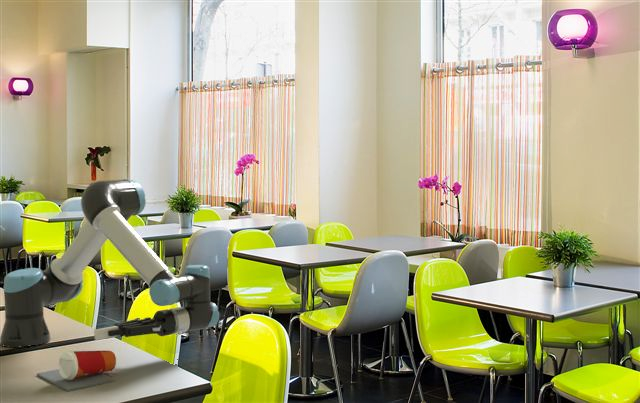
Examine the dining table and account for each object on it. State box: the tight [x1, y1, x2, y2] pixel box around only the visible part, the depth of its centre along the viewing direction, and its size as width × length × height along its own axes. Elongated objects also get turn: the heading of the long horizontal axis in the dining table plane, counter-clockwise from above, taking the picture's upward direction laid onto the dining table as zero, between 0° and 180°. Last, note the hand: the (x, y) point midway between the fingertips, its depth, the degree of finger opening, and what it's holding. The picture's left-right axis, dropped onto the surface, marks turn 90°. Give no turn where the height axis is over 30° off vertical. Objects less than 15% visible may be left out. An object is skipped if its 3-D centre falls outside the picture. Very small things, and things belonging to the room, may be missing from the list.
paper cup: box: [57, 349, 117, 380], centre depth 209 cm, size 8×8×14 cm
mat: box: [36, 368, 116, 392], centre depth 209 cm, size 20×13×1 cm, turn 42°
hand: (95, 334), depth 212 cm, fingers closed
